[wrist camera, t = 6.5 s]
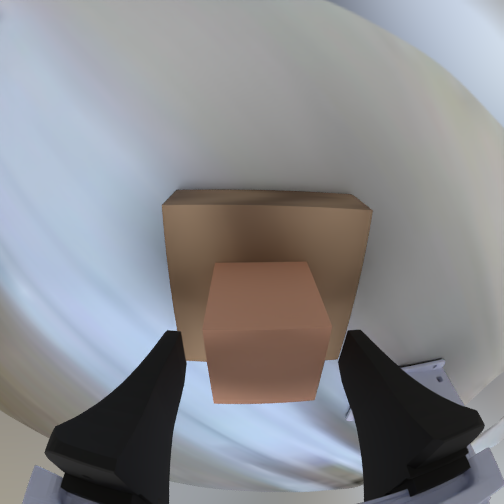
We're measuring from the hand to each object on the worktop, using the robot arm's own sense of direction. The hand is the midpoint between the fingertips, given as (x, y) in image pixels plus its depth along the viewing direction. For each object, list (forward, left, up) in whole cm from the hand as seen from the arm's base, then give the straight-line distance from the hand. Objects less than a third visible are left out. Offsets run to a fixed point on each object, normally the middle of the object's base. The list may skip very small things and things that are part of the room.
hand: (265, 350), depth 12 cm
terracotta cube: (0, 0, -4) cm, 4 cm away
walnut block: (0, 0, -7) cm, 7 cm away
